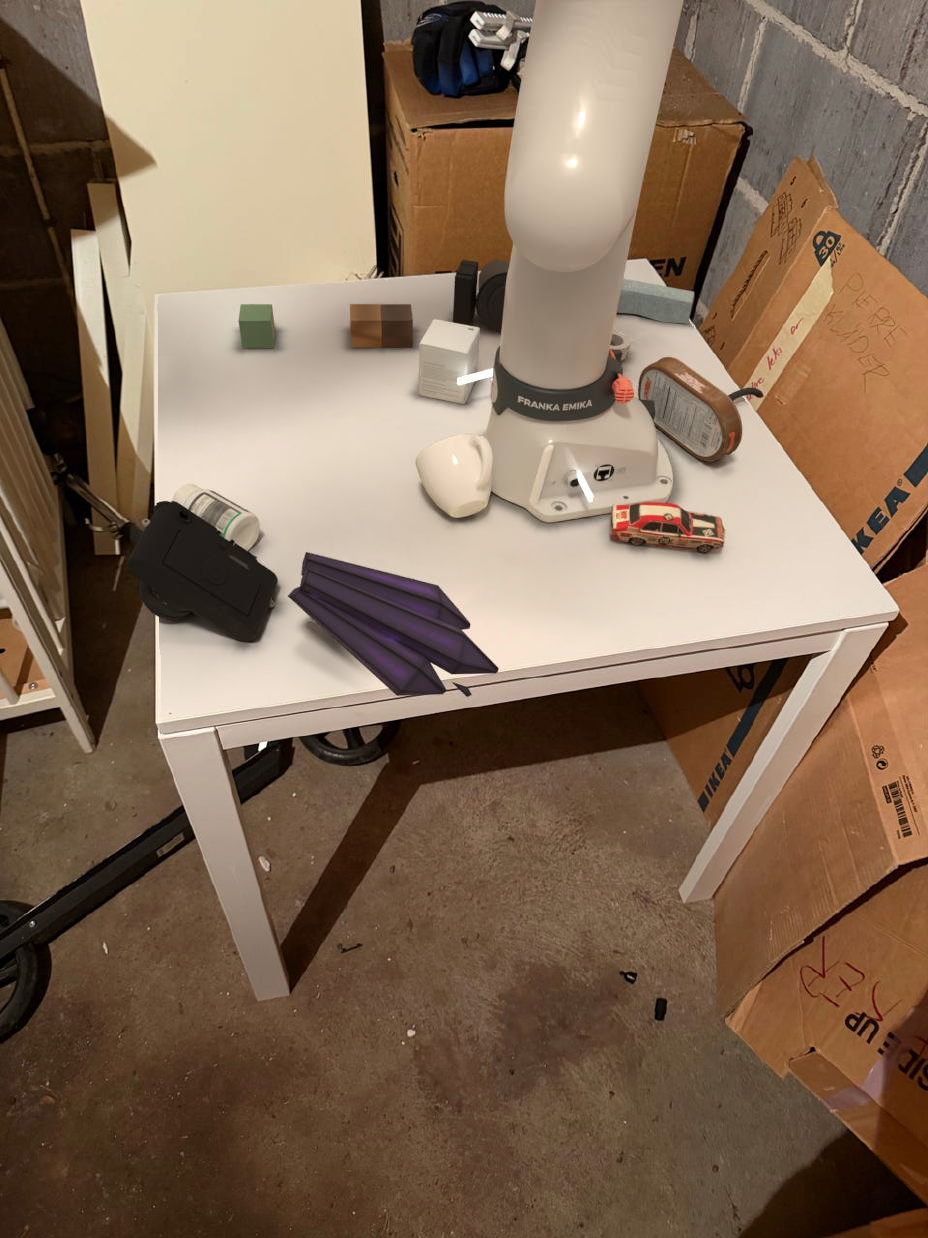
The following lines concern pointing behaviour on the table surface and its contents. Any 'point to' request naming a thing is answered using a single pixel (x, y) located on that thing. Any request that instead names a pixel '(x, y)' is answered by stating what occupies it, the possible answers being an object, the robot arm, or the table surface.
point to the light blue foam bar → (655, 301)
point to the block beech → (366, 325)
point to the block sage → (257, 325)
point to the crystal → (390, 624)
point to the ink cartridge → (465, 292)
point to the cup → (457, 473)
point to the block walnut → (397, 326)
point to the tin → (691, 409)
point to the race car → (666, 526)
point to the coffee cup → (492, 294)
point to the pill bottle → (220, 514)
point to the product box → (448, 360)
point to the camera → (200, 573)
